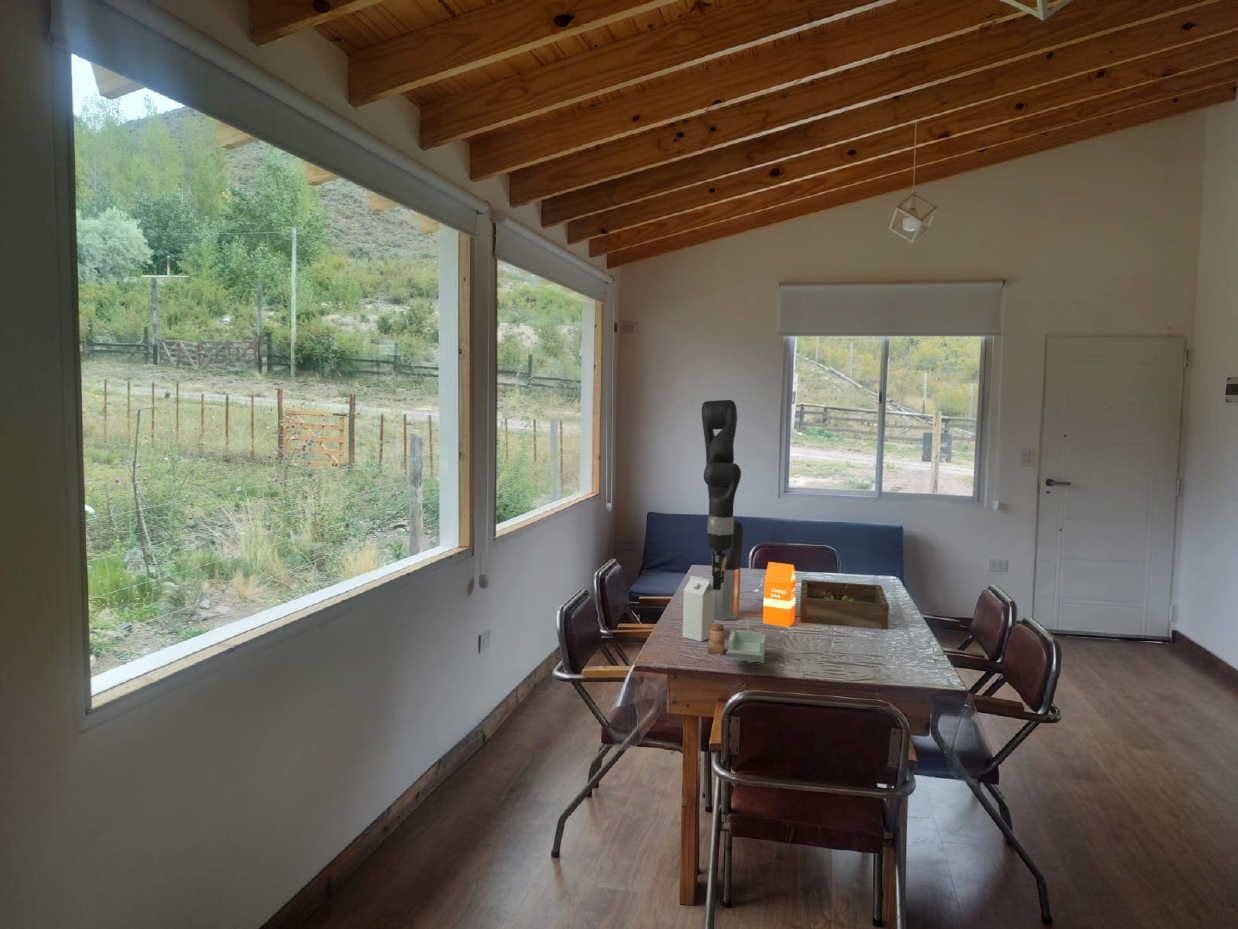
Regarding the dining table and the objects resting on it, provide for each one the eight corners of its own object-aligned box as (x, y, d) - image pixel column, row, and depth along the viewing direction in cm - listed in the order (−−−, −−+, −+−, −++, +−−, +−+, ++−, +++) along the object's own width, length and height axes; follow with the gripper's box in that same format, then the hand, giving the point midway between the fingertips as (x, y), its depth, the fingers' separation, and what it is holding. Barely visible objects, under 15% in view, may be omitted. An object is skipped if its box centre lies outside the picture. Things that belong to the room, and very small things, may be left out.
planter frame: (800, 600, 296) (801, 579, 296) (879, 607, 290) (881, 585, 290) (800, 622, 269) (801, 598, 269) (887, 629, 263) (889, 605, 262)
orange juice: (768, 617, 274) (771, 559, 272) (794, 621, 270) (797, 562, 269) (762, 623, 267) (764, 564, 265) (788, 627, 263) (791, 567, 262)
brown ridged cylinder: (709, 649, 239) (710, 622, 239) (724, 650, 238) (725, 623, 238) (707, 654, 235) (708, 627, 234) (723, 655, 234) (724, 628, 233)
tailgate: (728, 649, 229) (725, 652, 219) (762, 652, 227) (761, 655, 216) (728, 653, 229) (725, 656, 218) (762, 656, 227) (761, 660, 216)
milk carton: (695, 632, 256) (696, 573, 254) (713, 637, 251) (716, 577, 250) (682, 637, 250) (684, 577, 249) (701, 642, 246) (703, 581, 244)
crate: (730, 649, 240) (731, 629, 239) (764, 652, 238) (765, 632, 237) (727, 660, 230) (728, 640, 229) (763, 663, 228) (764, 643, 227)
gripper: (710, 526, 241) (708, 579, 243) (704, 534, 227) (702, 591, 229) (735, 528, 239) (733, 581, 241) (731, 536, 225) (729, 593, 227)
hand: (718, 586), depth 235 cm, fingers open, 8 cm apart
